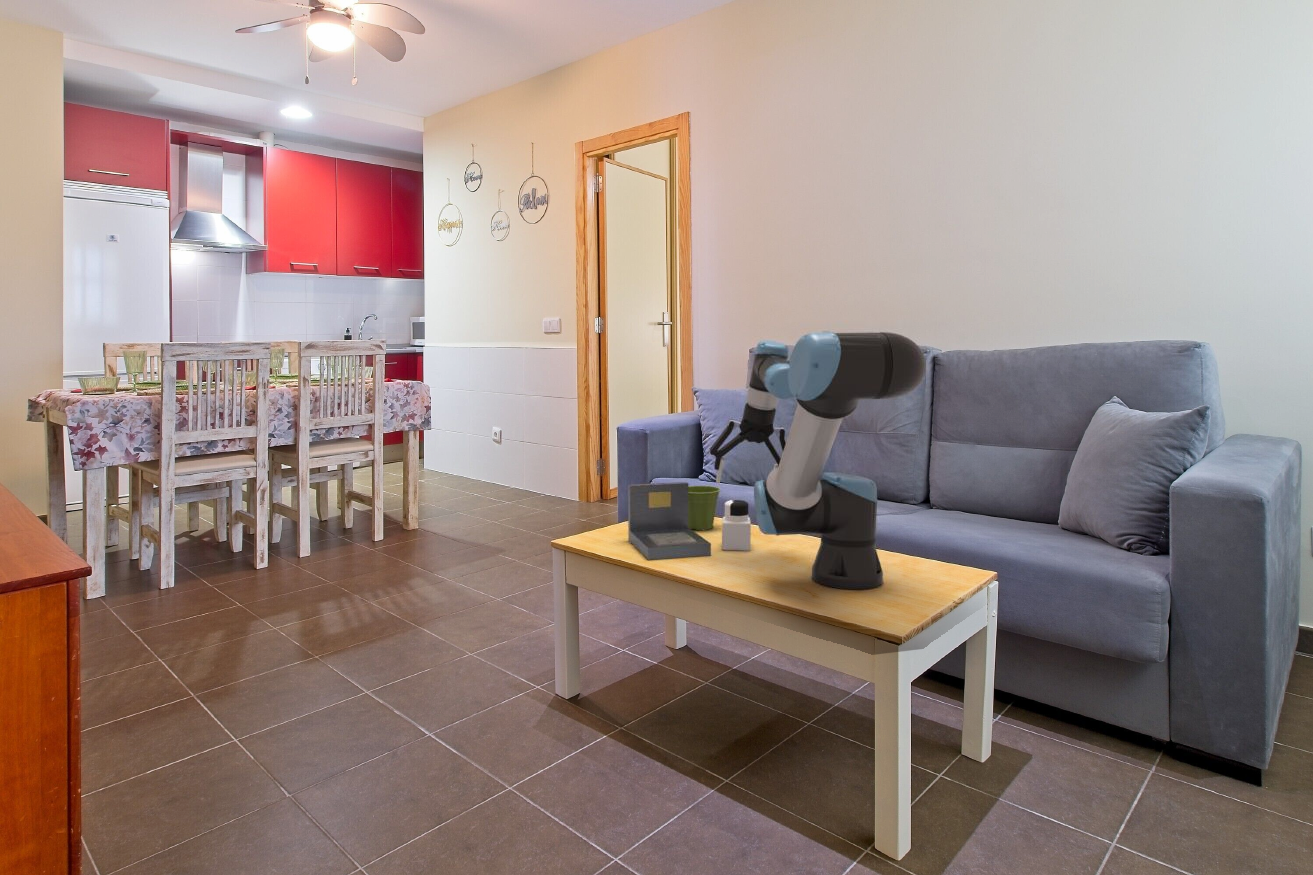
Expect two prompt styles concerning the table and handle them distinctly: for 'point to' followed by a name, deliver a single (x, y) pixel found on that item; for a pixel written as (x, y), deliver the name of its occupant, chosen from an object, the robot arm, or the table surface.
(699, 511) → the plant pot
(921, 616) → the table surface
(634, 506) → the bookend
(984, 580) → the table surface
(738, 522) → the medicine bottle
